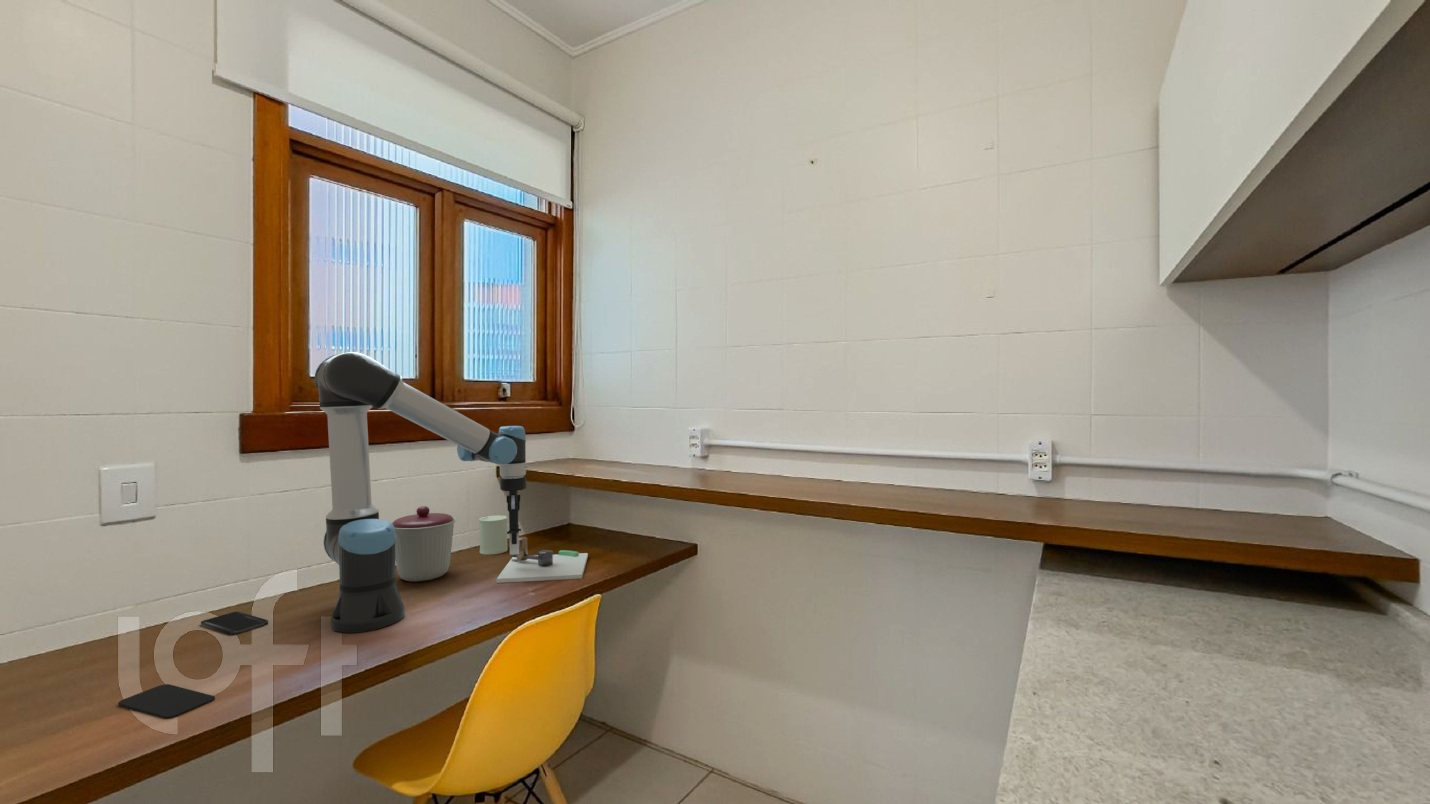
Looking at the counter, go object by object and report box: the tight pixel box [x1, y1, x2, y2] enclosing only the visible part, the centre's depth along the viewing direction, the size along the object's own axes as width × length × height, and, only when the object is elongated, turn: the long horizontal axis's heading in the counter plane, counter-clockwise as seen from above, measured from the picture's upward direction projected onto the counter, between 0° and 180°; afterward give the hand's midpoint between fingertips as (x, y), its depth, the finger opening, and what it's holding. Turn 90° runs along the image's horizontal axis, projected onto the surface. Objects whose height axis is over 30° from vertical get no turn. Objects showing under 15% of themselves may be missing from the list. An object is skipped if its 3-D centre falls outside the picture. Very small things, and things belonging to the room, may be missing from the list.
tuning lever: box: [512, 536, 554, 566], centre depth 186 cm, size 14×4×7 cm, turn 68°
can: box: [478, 515, 509, 556], centre depth 206 cm, size 9×9×12 cm
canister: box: [391, 505, 457, 582], centre depth 177 cm, size 18×18×21 cm
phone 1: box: [117, 683, 216, 720], centre depth 105 cm, size 7×1×15 cm
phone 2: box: [200, 611, 269, 636], centre depth 141 cm, size 8×1×15 cm
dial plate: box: [496, 549, 589, 584], centre depth 184 cm, size 24×24×2 cm
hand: (514, 553), depth 181 cm, fingers closed
